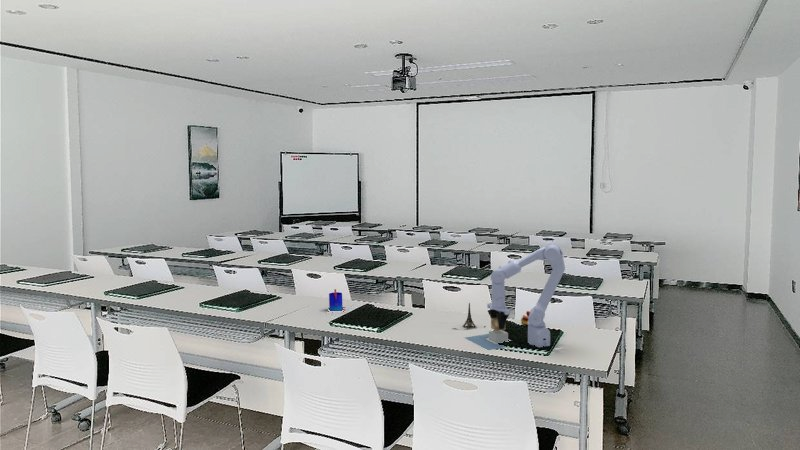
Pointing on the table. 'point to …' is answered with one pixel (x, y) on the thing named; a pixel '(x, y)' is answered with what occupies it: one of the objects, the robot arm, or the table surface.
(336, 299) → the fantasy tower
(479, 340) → the board
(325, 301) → the table surface
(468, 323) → the eiffel tower figurine
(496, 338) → the base block
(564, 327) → the table surface
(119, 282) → the table surface
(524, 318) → the small brown rounded figure
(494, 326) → the wooden cube
